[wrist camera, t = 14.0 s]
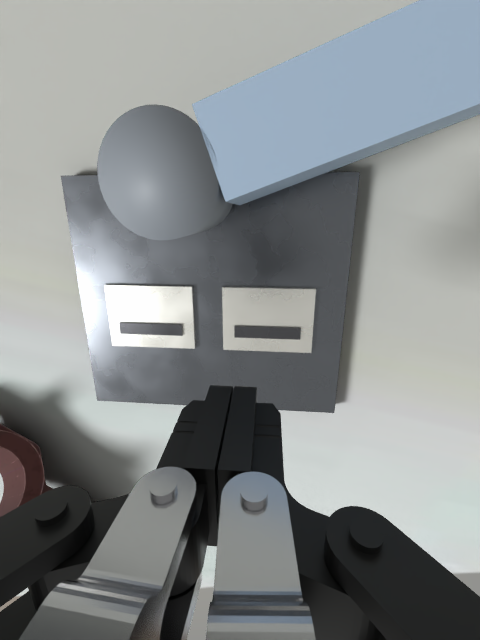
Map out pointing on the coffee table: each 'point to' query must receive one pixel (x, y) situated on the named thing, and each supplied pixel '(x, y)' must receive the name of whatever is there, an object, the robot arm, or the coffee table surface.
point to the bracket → (19, 470)
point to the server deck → (218, 297)
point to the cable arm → (294, 120)
